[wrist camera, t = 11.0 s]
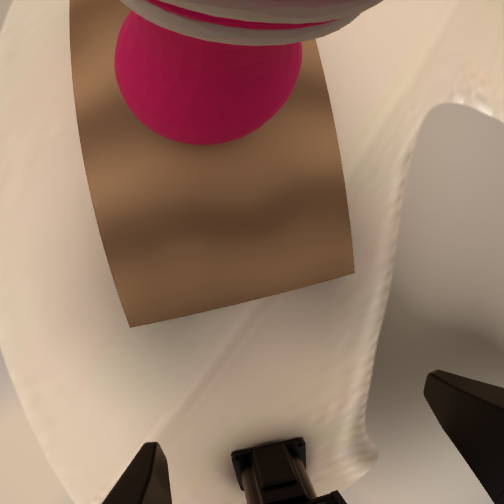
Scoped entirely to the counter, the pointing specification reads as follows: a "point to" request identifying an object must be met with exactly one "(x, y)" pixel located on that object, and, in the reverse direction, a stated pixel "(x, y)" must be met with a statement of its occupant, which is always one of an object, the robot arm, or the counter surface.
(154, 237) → the walnut board
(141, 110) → the pepper mill
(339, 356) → the counter surface
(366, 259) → the counter surface
